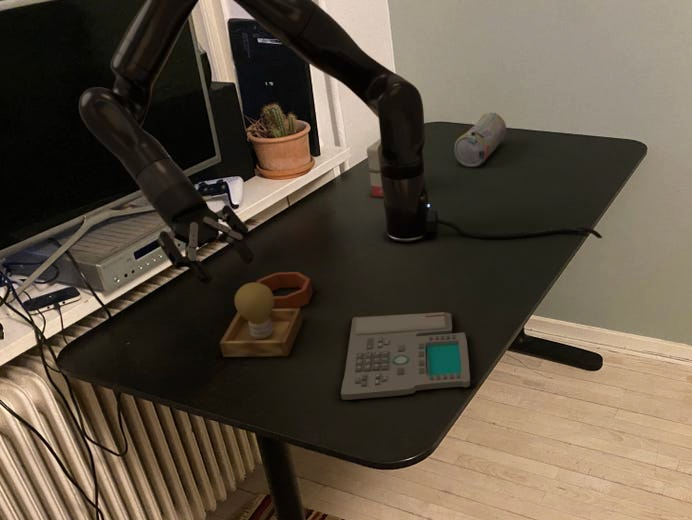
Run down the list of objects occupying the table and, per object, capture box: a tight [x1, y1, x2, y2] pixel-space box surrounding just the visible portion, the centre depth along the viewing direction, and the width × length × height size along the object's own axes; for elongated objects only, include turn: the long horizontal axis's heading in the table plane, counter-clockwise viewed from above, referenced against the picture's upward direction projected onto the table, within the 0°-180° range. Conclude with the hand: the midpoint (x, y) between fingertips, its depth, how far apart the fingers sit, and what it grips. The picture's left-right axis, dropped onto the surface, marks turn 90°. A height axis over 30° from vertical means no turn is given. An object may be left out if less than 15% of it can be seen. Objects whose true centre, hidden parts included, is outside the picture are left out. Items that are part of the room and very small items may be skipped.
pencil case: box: [453, 112, 507, 168], centre depth 198 cm, size 21×9×10 cm, turn 160°
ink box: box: [366, 138, 383, 198], centre depth 179 cm, size 9×5×12 cm, turn 161°
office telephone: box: [340, 311, 471, 401], centre depth 121 cm, size 23×3×20 cm
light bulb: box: [234, 282, 275, 339], centre depth 124 cm, size 6×6×10 cm
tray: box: [219, 307, 304, 358], centre depth 126 cm, size 11×11×3 cm
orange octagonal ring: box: [255, 271, 314, 309], centre depth 138 cm, size 10×10×3 cm
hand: (230, 271), depth 123 cm, fingers open, 8 cm apart
